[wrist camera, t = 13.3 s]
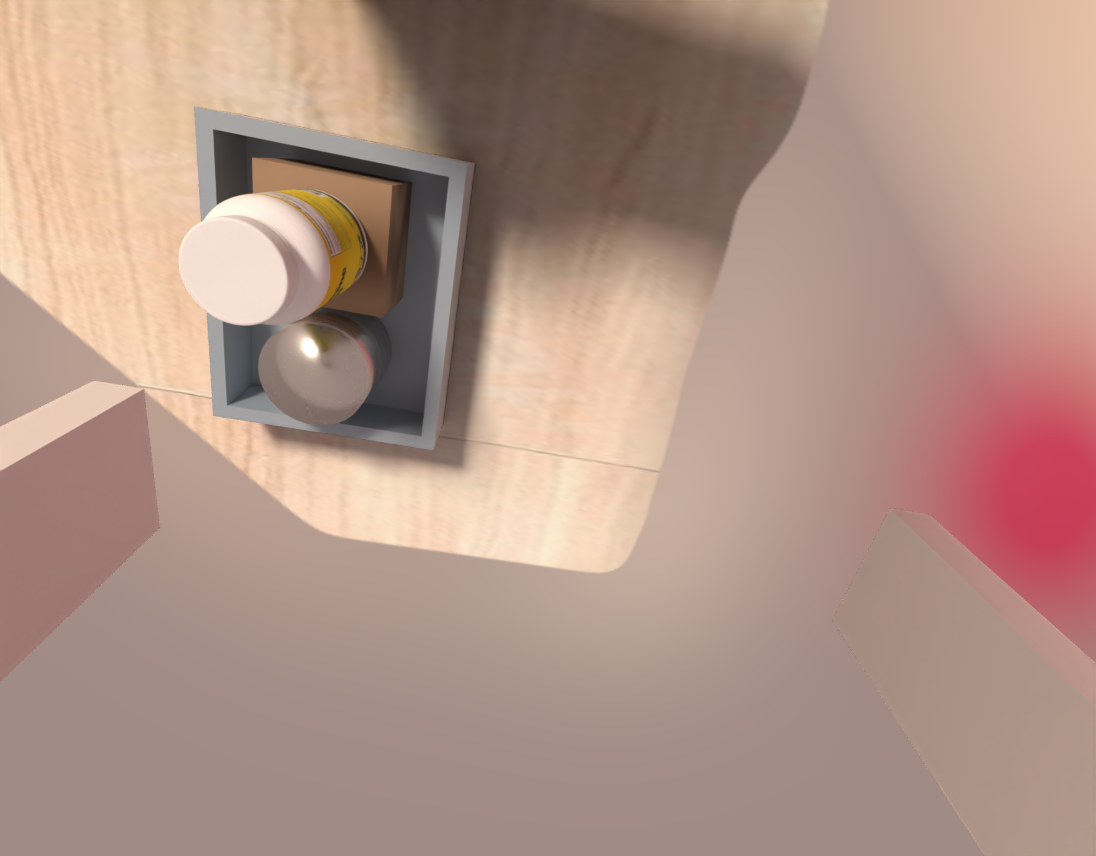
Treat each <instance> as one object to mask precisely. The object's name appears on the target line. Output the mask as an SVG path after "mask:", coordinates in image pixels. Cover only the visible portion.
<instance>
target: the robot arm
mask: <svg viewBox="0 0 1096 856" xmlns="http://www.w3.org/2000/svg"><path fill="white" fill-rule="evenodd" d="M159 528H160V525H159V516H158V508H157V499H156V490H155V481H154V473H153V465H152V455H151V447H150V438H149V429H148V421H147V412H146V403H145V394H144V389H142V388H135V387H129V386H123V385H116V384H111V383H104V382H98V381H93V382H91V383H89V384H87V385H85V386H83V387H81V388H79V389H77V390H75V391H72V392H70V393H69V394H66V395H64V396H62V397H60V398H58V399H56V400H54V401H52V402H50V403H48V404H46V405H44V406H42V407H40V408H38V409H36V410H34V411H32V412H30V413H28V414H26V415H23V416H21V417H19V418H17V419H15V420H13V421H11V422H9V423H7V424H5V425H3V426H1V427H0V682H1V681H2V680H3V679H4V678H5V677H6V676H7V675H8V674H9V673H10V672H11V671H12V670H13V669H14V668H15V667H16V666H17V665H18V664H19V663H20V662H21V661H23V660H24V659H25V658H26V657H27V656H28V655H29V654H30V653H31V652H32V651H33V650H34V649H35V648H36V647H37V646H38V645H39V644H40V643H41V642H42V641H43V640H44V639H45V638H46V637H47V636H48V635H49V634H51V633H52V632H53V631H54V629H56V628H57V626H59V625H60V624H61V623H62V622H63V621H64V620H65V619H66V618H67V617H68V616H69V615H70V614H71V613H72V612H73V611H74V610H75V609H76V608H77V607H78V606H79V605H81V604H82V603H83V602H84V601H85V600H86V599H87V598H88V597H89V596H90V595H91V594H92V593H93V592H94V591H95V590H96V589H97V588H98V587H99V586H100V585H101V584H102V583H103V582H104V581H105V580H106V579H107V578H108V577H110V576H111V574H113V573H114V572H115V571H116V570H117V569H118V568H119V567H120V566H121V565H122V564H123V563H124V562H125V561H126V560H127V559H128V558H129V557H130V556H131V555H132V554H133V553H134V552H135V551H136V550H137V549H138V548H139V547H141V546H142V544H144V543H145V542H146V541H147V540H148V539H149V538H150V537H151V536H152V535H153V534H154V533H155V532H156V531H157V530H158V529H159ZM832 621H833V623H834V624H835V626H836V627H837V629H838V631H839V632H840V634H841V635H842V637H843V638H844V640H845V641H846V643H847V645H848V646H849V648H850V649H851V651H852V652H853V654H854V655H855V657H856V658H857V660H858V662H859V663H860V665H861V666H862V667H863V669H864V671H865V672H866V674H867V675H868V677H869V678H870V680H871V681H872V683H873V685H874V686H875V688H876V689H877V691H878V692H879V694H880V695H881V697H882V698H883V700H884V702H885V703H886V705H887V706H888V708H889V709H890V711H891V712H892V714H893V716H894V717H895V719H896V720H897V722H898V723H899V725H900V726H901V728H902V729H903V731H904V733H905V734H906V736H907V737H908V739H909V740H910V742H911V743H912V745H913V746H914V748H915V750H916V751H917V753H918V754H919V755H920V757H921V759H922V760H923V762H924V763H925V765H926V766H927V768H928V770H929V771H930V773H931V774H932V776H933V777H934V779H935V780H936V782H937V783H938V785H939V786H940V788H941V790H942V791H943V793H944V794H945V796H946V797H947V799H948V800H949V802H950V804H951V805H952V806H953V808H954V809H955V811H956V813H957V814H958V816H959V817H960V819H961V821H962V822H963V824H964V825H965V827H966V828H967V830H968V831H969V833H970V834H971V836H972V837H973V839H974V841H975V842H976V844H977V845H978V847H979V848H980V850H981V851H982V853H983V854H984V856H1096V663H1095V662H1094V661H1093V660H1091V659H1090V658H1089V657H1088V656H1087V655H1086V654H1085V653H1083V652H1082V651H1081V650H1080V649H1079V648H1078V647H1077V646H1076V645H1075V644H1074V643H1072V642H1071V641H1070V640H1069V639H1068V638H1067V637H1066V636H1065V635H1063V634H1062V633H1061V632H1060V631H1059V630H1058V629H1057V628H1056V627H1055V626H1053V625H1052V624H1051V623H1050V622H1049V621H1048V620H1047V619H1046V618H1044V617H1043V616H1042V615H1041V614H1040V613H1039V612H1038V611H1037V610H1035V609H1034V608H1033V607H1032V606H1031V605H1030V604H1029V603H1028V602H1026V601H1025V600H1024V599H1023V598H1022V597H1021V596H1020V595H1019V594H1018V593H1016V592H1015V591H1014V590H1013V589H1012V588H1011V587H1010V586H1009V585H1007V584H1006V583H1005V582H1004V581H1003V580H1002V579H1001V578H1000V577H998V576H997V575H996V574H995V573H994V572H993V571H992V570H990V569H989V568H988V567H987V566H986V565H985V564H984V563H983V562H982V561H981V560H979V559H978V558H977V557H976V556H975V555H974V554H973V553H972V552H970V551H969V550H968V549H967V548H966V547H965V546H964V545H963V544H961V543H960V542H959V541H958V540H957V539H956V538H955V537H954V536H952V535H951V534H950V533H949V532H948V531H947V530H946V529H945V528H944V527H942V526H941V525H940V524H939V523H938V522H937V521H936V520H935V519H933V518H932V517H931V516H930V515H929V514H925V513H919V512H913V511H906V510H900V509H894V508H890V510H889V511H888V513H887V515H886V517H885V519H884V521H883V523H882V525H881V527H880V529H879V531H878V533H877V534H876V536H875V538H874V540H873V542H872V544H871V546H870V548H869V550H868V552H867V554H866V556H865V558H864V559H863V561H862V564H861V565H860V567H859V569H858V571H857V573H856V575H855V577H854V579H853V581H852V583H851V585H850V587H849V588H848V591H847V593H846V594H845V596H844V598H843V600H842V602H841V604H840V606H839V608H838V610H837V612H836V614H835V615H834V617H833V619H832Z"/></svg>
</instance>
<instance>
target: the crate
mask: <svg viewBox="0 0 1096 856" xmlns="http://www.w3.org/2000/svg"><path fill="white" fill-rule="evenodd" d="M194 112H195V129H196V145H197V161H198V177H199V194H200V210H201V222H202V221H204V219H205V217H206V216H207V214H208V213H209V212H210V211H211V210H212V209H213V208H214V207H216V206H217V205H218V204H219V203H221V202H223V201H225V200H227V199H229V198H232V197H236V196H240V195H245V194H253V177H252V158H290V159H297V160H302V161H307V162H312V163H317V164H322V165H327V166H332V167H337V168H342V169H347V170H352V171H357V172H362V173H367V174H372V175H377V176H382V177H387V178H392V179H397V180H402V181H407V182H412V193H411V205H410V217H409V229H408V242H407V254H406V266H405V278H404V290H403V298H402V299H401V300H400V301H399V302H398V303H397V304H396V305H395V306H394V307H393V308H392V309H391V310H390V311H389V312H388V313H387V314H386V315H385V316H384V317H383V318H382V317H377V318H378V319H379V320H380V321H381V322H382V324H383V325H384V327H385V329H386V330H387V333H388V335H389V338H390V341H391V348H392V354H391V360H390V364H389V366H388V368H387V370H386V372H385V373H384V375H383V376H382V377H381V379H380V380H379V382H378V383H377V384H376V386H375V387H374V388H373V390H372V391H371V393H370V394H369V395H368V397H367V398H366V399H365V401H364V402H363V404H362V405H361V406H360V408H359V409H358V410H357V411H356V412H355V413H354V414H353V415H352V416H351V417H349V418H348V419H346V420H344V421H342V422H339V423H336V424H333V425H322V426H319V425H311V424H306V423H303V422H300V421H297V420H295V419H293V418H291V417H289V416H288V415H286V414H285V413H283V412H282V411H281V410H279V409H278V408H277V407H276V406H275V405H274V404H273V403H272V401H271V400H270V399H269V397H268V396H267V395H266V393H265V391H264V389H263V387H262V384H261V382H260V378H259V371H258V361H259V356H260V353H261V350H262V348H263V346H264V345H265V343H266V342H267V341H268V339H269V338H270V337H271V336H273V335H274V334H275V333H277V332H278V331H280V330H281V329H283V328H284V327H286V326H287V325H289V324H290V323H289V324H283V325H266V324H257V325H251V326H242V325H234V324H230V323H226V322H223V321H221V320H219V319H217V318H215V317H213V316H212V315H210V314H209V313H207V323H208V339H209V356H210V372H211V388H212V404H213V416H218V417H224V418H231V419H237V420H243V421H250V422H256V423H263V424H269V425H275V426H282V427H288V428H294V429H301V430H307V431H314V432H320V433H326V434H333V435H339V436H345V437H352V438H358V439H365V440H371V441H377V442H384V443H390V444H396V445H403V446H409V447H416V448H422V449H428V450H434V448H435V445H436V442H437V439H438V436H439V434H440V431H441V428H442V425H443V422H444V414H445V406H446V397H447V389H448V381H449V373H450V365H451V357H452V349H453V341H454V332H455V324H456V316H457V308H458V300H459V292H460V284H461V276H462V267H463V259H464V251H465V243H466V235H467V227H468V219H469V211H470V203H471V194H472V186H473V178H474V170H475V163H473V162H469V161H464V160H459V159H454V158H449V157H444V156H440V155H435V154H430V153H425V152H420V151H415V150H410V149H406V148H401V147H396V146H391V145H386V144H381V143H376V142H372V141H367V140H362V139H357V138H352V137H347V136H343V135H338V134H333V133H328V132H323V131H318V130H313V129H309V128H304V127H299V126H294V125H289V124H284V123H280V122H275V121H270V120H265V119H260V118H255V117H250V116H246V115H241V114H236V113H230V112H224V111H218V110H212V109H206V108H200V107H194Z"/></svg>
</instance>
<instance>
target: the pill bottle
mask: <svg viewBox="0 0 1096 856" xmlns="http://www.w3.org/2000/svg"><path fill="white" fill-rule="evenodd" d="M367 253H368V246H367V240H366V236H365V233H364V230H363V227H362V225H361V223H360V221H359V220H358V218H357V216H356V215H355V214H354V212H353V211H352V210H351V209H350V208H349V207H348V206H347V205H346V204H345V203H344V202H342V201H341V200H340V199H338V198H336V197H335V196H333V195H331V194H329V193H326V192H323V191H320V190H314V189H292V190H281V191H272V192H262V193H253V194H245V195H240V196H236V197H232V198H229V199H227V200H225V201H223V202H221V203H219V204H218V205H217V206H216V207H214V208H213V209H212V210H211V211H210V212H209V213H208V214H207V216H206V217H205V219H204V221H202V222H200V223H199V224H197V225H195V226H194V227H193V228H192V229H191V230H190V231H189V232H188V233H187V234H186V236H185V238H184V239H183V241H182V244H181V247H180V251H179V270H180V274H181V278H182V281H183V283H184V285H185V287H186V289H187V291H188V293H189V294H190V296H191V297H192V298H193V299H194V301H195V302H196V303H197V304H198V305H199V306H200V307H201V308H202V309H203V310H205V311H206V312H207V313H209V314H210V315H212V316H213V317H215V318H217V319H219V320H221V321H223V322H226V323H230V324H234V325H242V326H251V325H257V324H266V325H283V324H289V323H292V322H295V321H298V320H301V319H303V318H305V317H307V316H309V315H310V314H311V313H313V312H314V311H316V310H317V309H319V308H320V307H322V306H323V305H325V304H326V303H327V302H329V301H330V300H332V299H333V298H335V297H336V296H338V295H339V294H341V293H343V292H344V291H346V290H347V289H348V288H350V287H351V286H352V285H353V284H354V283H355V282H356V281H357V280H358V279H359V277H360V276H361V274H362V272H363V270H364V268H365V265H366V261H367Z"/></svg>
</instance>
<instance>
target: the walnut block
mask: <svg viewBox="0 0 1096 856" xmlns="http://www.w3.org/2000/svg"><path fill="white" fill-rule="evenodd" d="M252 177H253V193H262V192H272V191H281V190H292V189H314V190H320V191H323V192H326V193H329V194H331V195H333V196H335V197H336V198H338V199H340V200H341V201H342V202H344V203H345V204H346V205H347V206H348V207H349V208H350V209H351V210H352V211H353V212H354V214H355V215H356V216H357V218H358V220H359V221H360V223H361V225H362V227H363V230H364V233H365V236H366V240H367V246H368V253H367V261H366V265H365V268H364V270H363V272H362V274H361V276H360V277H359V279H358V280H357V281H356V282H355V283H354V284H353V285H352V286H351V287H350V288H348V289H347V290H346V291H344V292H343V293H341V294H339V295H338V296H336V297H335V298H333V299H332V300H330V301H329V302H327V303H326V304H325V305H323V306H322V307H326V308H331V309H337V310H342V311H348V312H354V313H359V314H365V315H371V316H376V317H382V318H383V317H384V316H385V315H386V314H387V313H388V312H389V311H390V310H391V309H392V308H393V307H394V306H395V305H396V304H397V303H398V302H399V301H400V300H401V299H402V298H403V290H404V278H405V266H406V254H407V242H408V229H409V217H410V205H411V193H412V182H407V181H402V180H397V179H392V178H387V177H382V176H377V175H372V174H367V173H362V172H357V171H352V170H347V169H342V168H337V167H332V166H327V165H322V164H317V163H312V162H307V161H302V160H297V159H290V158H252Z"/></svg>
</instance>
